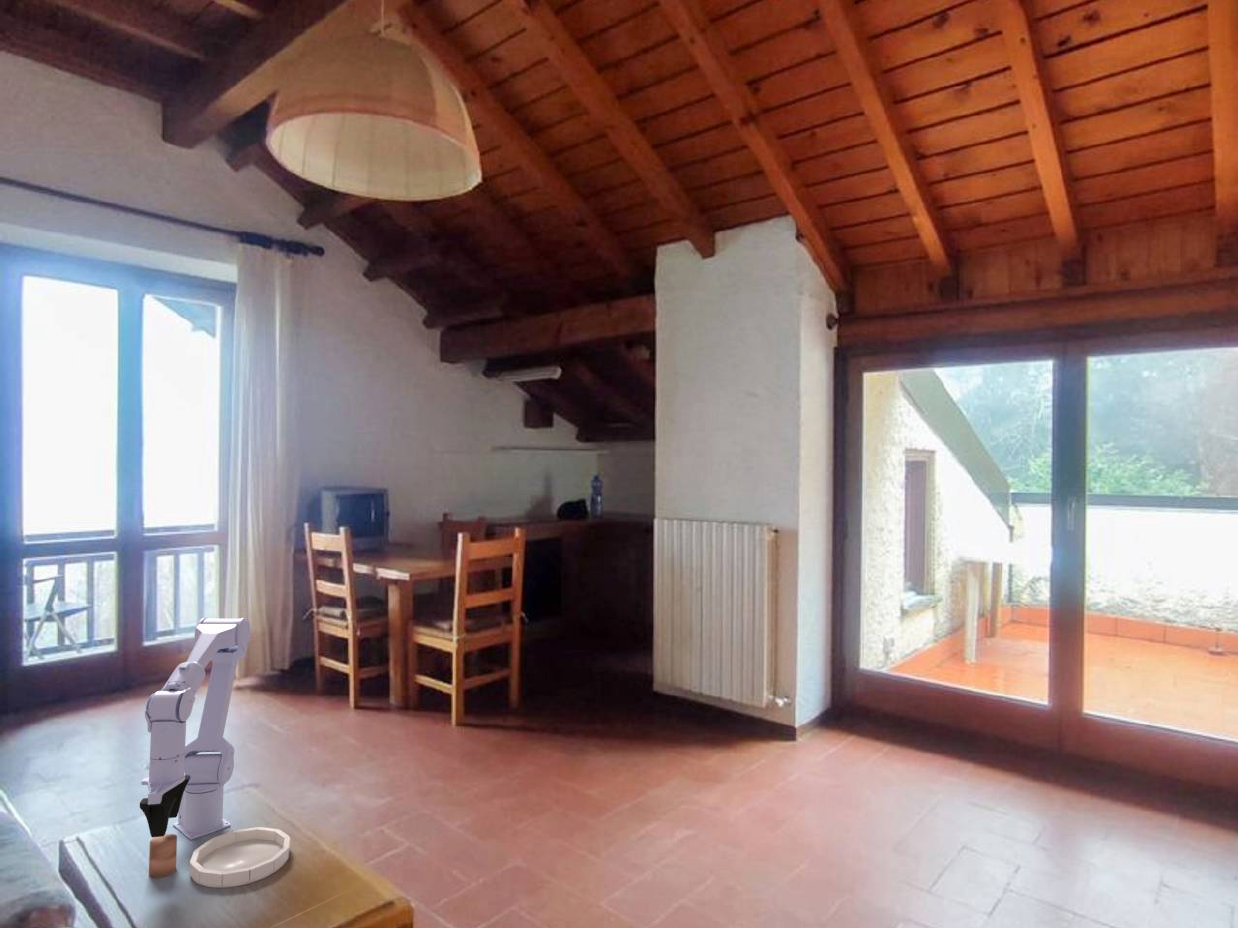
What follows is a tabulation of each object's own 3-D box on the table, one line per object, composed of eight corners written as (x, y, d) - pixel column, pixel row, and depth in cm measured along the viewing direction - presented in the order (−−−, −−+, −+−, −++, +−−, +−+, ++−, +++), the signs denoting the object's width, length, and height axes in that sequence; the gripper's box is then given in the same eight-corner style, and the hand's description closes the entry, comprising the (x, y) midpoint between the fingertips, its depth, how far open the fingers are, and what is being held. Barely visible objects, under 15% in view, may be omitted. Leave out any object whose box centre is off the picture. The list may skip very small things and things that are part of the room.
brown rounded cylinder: (145, 871, 137) (146, 839, 138) (170, 862, 141) (171, 831, 141) (153, 880, 135) (154, 848, 135) (179, 870, 138) (180, 838, 138)
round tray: (175, 864, 140) (176, 850, 140) (264, 831, 153) (264, 819, 153) (214, 899, 130) (214, 884, 130) (305, 860, 143) (305, 847, 143)
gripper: (155, 742, 144) (153, 811, 144) (129, 770, 130) (126, 847, 130) (195, 739, 146) (193, 807, 146) (174, 767, 132) (171, 842, 132)
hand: (164, 826), depth 138 cm, fingers open, 7 cm apart
